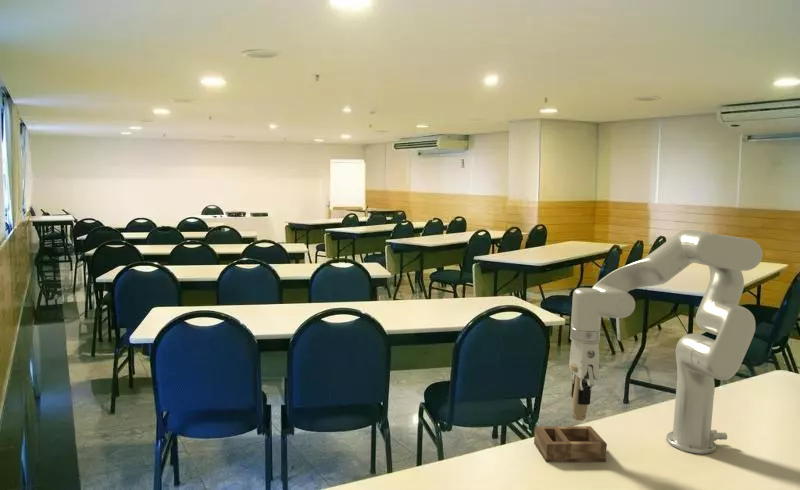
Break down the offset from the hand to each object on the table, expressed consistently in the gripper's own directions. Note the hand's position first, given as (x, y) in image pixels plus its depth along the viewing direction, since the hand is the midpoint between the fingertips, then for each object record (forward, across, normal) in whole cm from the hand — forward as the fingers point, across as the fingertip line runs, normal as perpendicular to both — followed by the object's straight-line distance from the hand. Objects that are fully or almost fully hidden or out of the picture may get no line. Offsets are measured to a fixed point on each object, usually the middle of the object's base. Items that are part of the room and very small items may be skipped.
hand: (580, 400), depth 159 cm
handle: (+5, 0, 0) cm, 5 cm away
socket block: (+15, 0, +2) cm, 15 cm away
